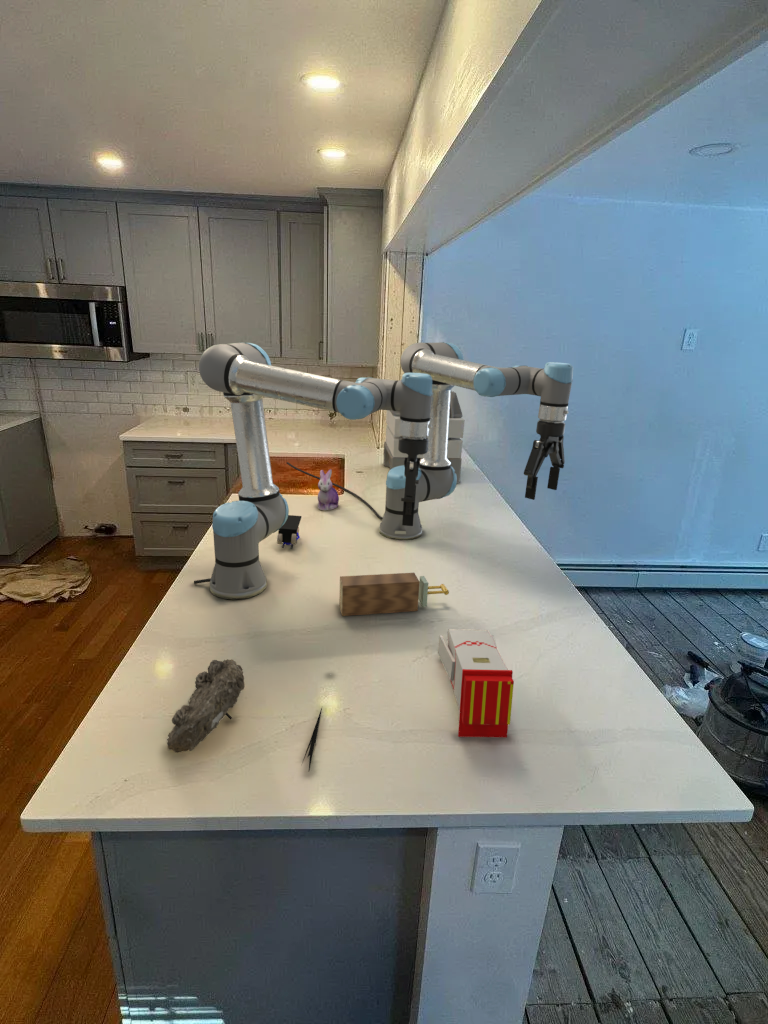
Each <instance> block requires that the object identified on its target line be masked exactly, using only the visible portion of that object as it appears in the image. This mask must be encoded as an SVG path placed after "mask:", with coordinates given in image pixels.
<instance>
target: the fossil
mask: <svg viewBox="0 0 768 1024" xmlns="http://www.w3.org/2000/svg"><path fill="white" fill-rule="evenodd" d="M243 670H244V669H243V667H242V665H240V664H237V662H236V661H235V660H234V659H232V658H231V659H227V658H226V659H224V660H223V661H222V660H217V659H212V660H211V661H210V663H209V665H208V666H207V671H201V672H199V673H198V674H197V675H196V676H195V680H194V684H195V685H194V687H195V689H194V690H193V693H192V694H191V697H190V698H189V700H188V704H184V705H182V706H181V707H180V709H177V710H176V711H175V713H174V715H173V716H172V718H171V723H172V724H173V727H172V730H171V731H170V732H168V734H167V738H166V741H167V742H166V745H167V749H168V750H169V751H173V752H174V753H176V754H178V753H182V752H188V751H189V752H192V751H193V750H195V748H196V747H197V746H199V744H200V743H201V742H203V741H204V740H205V739H206V738H207V737H208V736H209V735H210V734H211V733H212V732H214V730H215V729H217V727H218V726H219V724H220V722H221V721H222V720H223V719H224V718H225V716H226V717H227V719H229V720H233V717H232V715H230V714H229V710H230V709H231V708H234V706H235V704H236V703H237V702H238V699H239V697H240V695H241V693H242V691H243V690H245V689H244V688H245V675H244V671H243Z"/></svg>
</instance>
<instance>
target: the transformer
mask: <svg viewBox="0 0 768 1024" xmlns="http://www.w3.org/2000/svg"><path fill="white" fill-rule="evenodd" d="M385 414H386V415H385V423H386V428H385V438H384V442H383V466H384V467H388V468H389V471H390V470H391V469H392V468H394V467H397V466H402V465H404V460H405V457H406V458H408V454H406V453H405V454H404V453H401V452H400V451H399V450H398V444H399V437H400V436H401V435H400V434H399V422H400V411H391V410H386V413H385ZM464 429H465V419H464V418H463V411H462V408H461V405H460V402H459V398H458V395H457V392H455V391H453V390H451V397H450V414H449V431H448V448H447V459H448V460H449V461H450V462H451V467H453V469H454V470H455V473H456V476H457V483H456V484H459V483H461V472H462V461H463V460H462V453H463V442H464V441H463V440H462V439H463V438H464V431H465V430H464ZM422 457H423V454H422V455H420V454H419V455H418V456H417V458H420V459H421V458H422Z"/></svg>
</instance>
